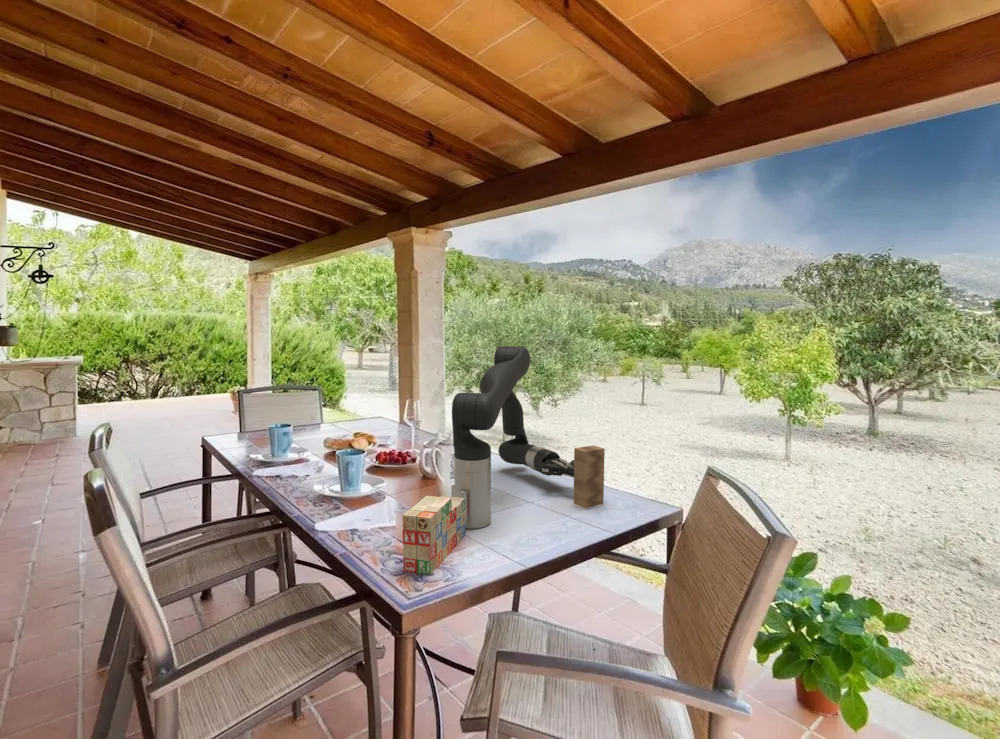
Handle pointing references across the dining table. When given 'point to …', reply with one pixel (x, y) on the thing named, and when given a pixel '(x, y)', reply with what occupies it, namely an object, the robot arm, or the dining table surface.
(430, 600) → the dining table surface
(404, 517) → the stack of blocks
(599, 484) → the walnut block
